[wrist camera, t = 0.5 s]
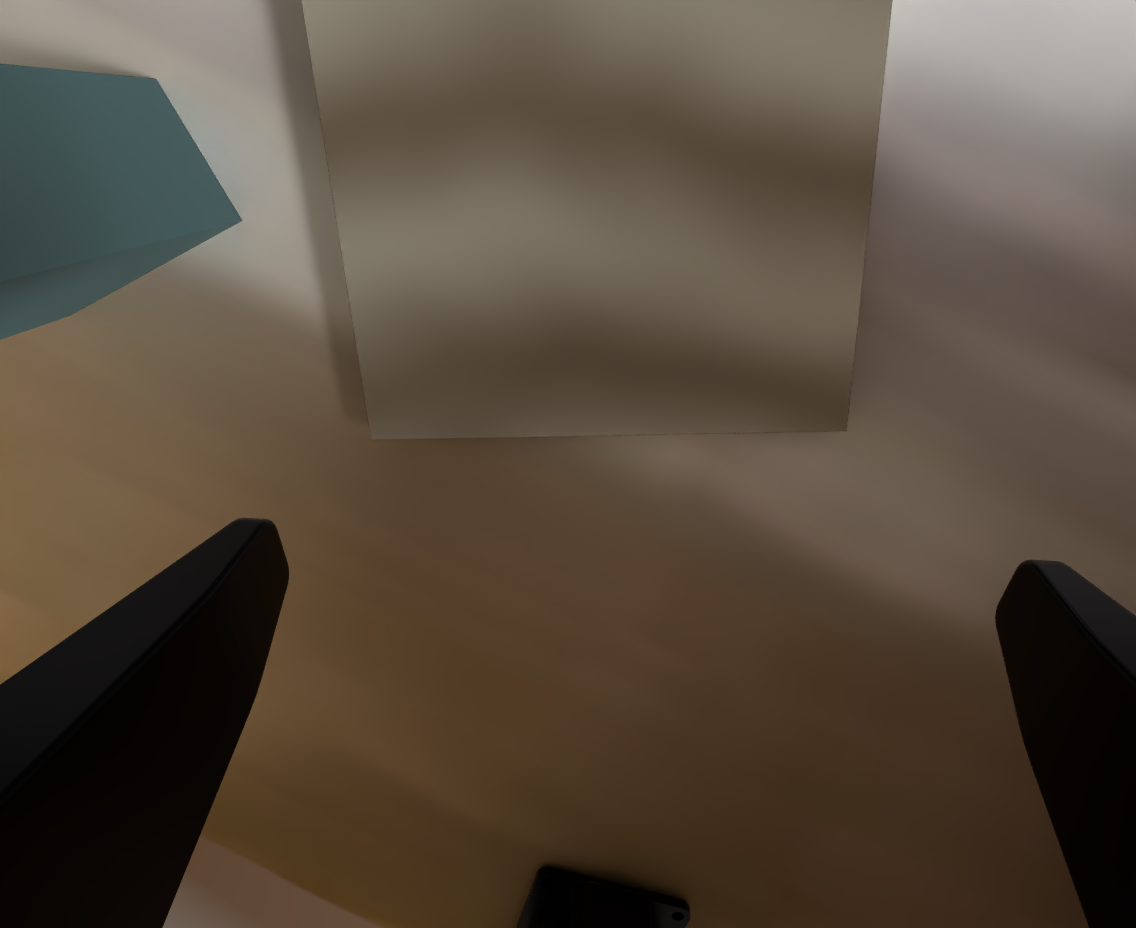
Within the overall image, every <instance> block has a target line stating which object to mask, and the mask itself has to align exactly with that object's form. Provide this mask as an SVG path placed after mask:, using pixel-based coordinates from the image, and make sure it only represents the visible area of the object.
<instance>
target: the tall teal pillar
mask: <svg viewBox="0 0 1136 928" xmlns="http://www.w3.org/2000/svg"><path fill="white" fill-rule="evenodd" d="M240 221H242V219H241V218H240V216H239V214H238V213H237V211H236V210H235V208H234V206H233V205H232V203H231V201H230V200H229V198H228V196H227V195H226V193H225V191H224V190H223V188H222V187H221V185H220V183H219V182H218V180H217V178H216V177H215V175H214V173H213V172H212V170H211V168H210V167H209V165H208V164H207V162H206V160H205V159H204V157H203V155H202V154H201V152H200V150H199V149H198V147H197V145H196V144H195V142H194V141H193V139H192V137H191V136H190V134H189V132H188V131H187V129H186V127H185V126H184V124H183V122H182V121H181V119H180V118H179V116H178V114H177V113H176V111H175V109H174V108H173V106H172V104H171V103H170V101H169V99H168V98H167V96H166V94H165V93H164V91H163V90H162V88H161V86H160V85H159V83H158V81H157V80H156V79H151V78H141V77H131V76H120V75H110V74H100V73H90V72H80V71H70V70H59V69H49V68H39V67H29V66H19V65H9V64H0V340H1V339H4V338H7V337H9V336H12V335H15V334H18V333H21V332H24V331H27V330H30V329H33V328H35V327H38V326H41V325H44V324H47V323H50V322H53V321H56V320H59V319H61V318H64V317H67V316H70V315H72V314H74V313H75V312H77V311H79V310H81V309H83V308H84V307H86V306H88V305H90V304H92V303H94V302H95V301H97V300H99V299H101V298H103V297H104V296H106V295H108V294H110V293H112V292H113V291H115V290H117V289H119V288H121V287H123V286H124V285H126V284H128V283H130V282H132V281H133V280H135V279H137V278H139V277H141V276H143V275H144V274H146V273H148V272H150V271H152V270H153V269H155V268H157V267H159V266H161V265H162V264H164V263H166V262H168V261H170V260H172V259H173V258H175V257H177V256H179V255H181V254H182V253H184V252H186V251H188V250H190V249H191V248H193V247H195V246H197V245H199V244H201V243H202V242H204V241H206V240H208V239H210V238H211V237H213V236H215V235H217V234H219V233H221V232H222V231H224V230H226V229H228V228H230V227H231V226H233V225H235V224H237V223H239V222H240Z"/></svg>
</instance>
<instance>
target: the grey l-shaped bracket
mask: <svg viewBox="0 0 1136 928" xmlns="http://www.w3.org/2000/svg"><path fill="white" fill-rule="evenodd" d="M302 6H303V13H304V19H305V25H306V32H307V38H308V44H309V51H310V57H311V63H312V69H313V76H314V82H315V88H316V95H317V101H318V107H319V114H320V120H321V126H322V133H323V139H324V145H325V152H326V158H327V164H328V171H329V177H330V183H331V190H332V196H333V202H334V208H335V215H336V221H337V227H338V234H339V240H340V246H341V253H342V259H343V265H344V272H345V278H346V284H347V291H348V297H349V303H350V310H351V316H352V322H353V329H354V335H355V341H356V347H357V354H358V360H359V366H360V373H361V379H362V385H363V392H364V398H365V404H366V411H367V417H368V423H369V430H370V436H371V440H391V439H445V438H499V437H553V436H606V435H660V434H714V433H768V432H822V431H847V421H848V412H849V402H850V393H851V384H852V374H853V365H854V355H855V346H856V337H857V327H858V318H859V308H860V299H861V290H862V280H863V271H864V261H865V252H866V243H867V233H868V224H869V214H870V205H871V196H872V186H873V177H874V167H875V158H876V149H877V139H878V130H879V120H880V111H881V102H882V92H883V83H884V74H885V64H886V55H887V45H888V36H889V27H890V17H891V8H892V0H302Z"/></svg>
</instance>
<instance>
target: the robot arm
mask: <svg viewBox="0 0 1136 928" xmlns="http://www.w3.org/2000/svg"><path fill="white" fill-rule="evenodd" d="M288 580H289V567H288V563H287V559H286V556H285V553H284V550H283V547H282V543H281V540H280V537H279V534H278V530H277V528H276V526H275V524H274V523H273V522H272V521H271V520H268V519H254V518H240V519H237V520H235V521H233V522H231V523H230V524H229V525H227V526H226V527H224V528H223V529H222V530H220V531H219V532H217V533H216V534H214V535H213V536H212V537H210V538H209V539H207V540H206V541H204V542H203V543H202V544H200V545H199V546H197V547H196V548H194V549H193V550H192V551H190V552H189V553H187V554H186V555H184V556H183V557H182V558H180V559H179V560H177V561H176V562H174V563H173V564H172V565H170V566H169V567H167V568H166V569H164V570H163V571H162V572H160V573H159V574H157V575H156V576H155V577H153V578H152V579H150V580H149V581H147V582H146V583H145V584H143V585H142V586H140V587H139V588H137V589H136V590H135V591H133V592H132V593H130V594H129V595H127V596H126V597H125V598H123V599H122V600H120V601H119V602H117V603H116V604H115V605H113V606H112V607H110V608H109V609H107V610H106V611H105V612H103V613H102V614H100V615H99V616H97V617H96V618H95V619H93V620H92V621H90V622H89V623H87V624H86V625H85V626H83V627H82V628H80V629H79V630H78V631H76V632H75V633H73V634H72V635H70V636H69V637H68V638H66V639H65V640H63V641H62V642H60V643H59V644H58V645H56V646H55V647H53V648H52V649H50V650H49V651H48V652H46V653H45V654H43V655H42V656H40V657H39V658H38V659H36V660H35V661H33V662H32V663H30V664H29V665H28V666H26V667H25V668H23V669H22V670H20V671H19V672H18V673H16V674H15V675H13V676H12V677H11V678H9V679H8V680H6V681H5V682H3V683H2V684H1V685H0V928H162V927H163V925H164V922H165V920H166V917H167V915H168V912H169V910H170V908H171V905H172V903H173V900H174V898H175V895H176V893H177V890H178V888H179V885H180V883H181V880H182V878H183V875H184V873H185V871H186V868H187V866H188V863H189V861H190V858H191V856H192V853H193V851H194V849H195V846H196V843H197V841H198V839H199V836H200V834H201V831H202V829H203V826H204V824H205V821H206V819H207V817H208V814H209V812H210V809H211V807H212V804H213V802H214V799H215V797H216V794H217V792H218V789H219V787H220V785H221V782H222V780H223V777H224V775H225V772H226V770H227V767H228V765H229V762H230V760H231V757H232V755H233V753H234V750H235V748H236V745H237V743H238V740H239V738H240V735H241V733H242V730H243V728H244V725H245V723H246V721H247V718H248V716H249V713H250V711H251V708H252V705H253V703H254V700H255V697H256V695H257V692H258V688H259V685H260V682H261V679H262V675H263V672H264V668H265V665H266V661H267V658H268V654H269V650H270V647H271V643H272V640H273V636H274V632H275V629H276V625H277V622H278V618H279V614H280V611H281V607H282V604H283V600H284V596H285V593H286V589H287V585H288ZM995 620H996V628H997V632H998V636H999V641H1000V645H1001V649H1002V654H1003V658H1004V662H1005V666H1006V671H1007V675H1008V679H1009V684H1010V688H1011V692H1012V697H1013V701H1014V705H1015V709H1016V714H1017V718H1018V722H1019V726H1020V730H1021V734H1022V738H1023V741H1024V745H1025V748H1026V751H1027V754H1028V757H1029V760H1030V763H1031V766H1032V769H1033V771H1034V774H1035V777H1036V780H1037V783H1038V785H1039V788H1040V791H1041V794H1042V797H1043V799H1044V802H1045V805H1046V808H1047V811H1048V813H1049V816H1050V819H1051V822H1052V825H1053V827H1054V830H1055V833H1056V836H1057V839H1058V841H1059V844H1060V847H1061V850H1062V853H1063V855H1064V858H1065V861H1066V864H1067V867H1068V869H1069V872H1070V875H1071V878H1072V881H1073V883H1074V886H1075V889H1076V892H1077V895H1078V897H1079V900H1080V903H1081V906H1082V909H1083V911H1084V914H1085V917H1086V920H1087V923H1088V926H1089V928H1136V616H1135V615H1133V614H1132V613H1131V612H1129V611H1128V610H1127V609H1125V608H1124V607H1123V606H1121V605H1120V604H1119V603H1117V602H1116V601H1115V600H1113V599H1112V598H1111V597H1109V596H1108V595H1106V594H1105V593H1104V592H1102V591H1101V590H1100V589H1098V588H1097V587H1096V586H1094V585H1093V584H1092V583H1090V582H1089V581H1088V580H1086V579H1085V578H1084V577H1082V576H1081V575H1080V574H1078V573H1077V572H1076V571H1074V570H1073V569H1071V568H1070V567H1069V566H1067V565H1066V564H1064V563H1061V562H1057V561H1043V560H1026V561H1024V562H1022V563H1021V564H1020V565H1019V566H1018V567H1017V569H1016V571H1015V573H1014V574H1013V576H1012V578H1011V580H1010V582H1009V584H1008V586H1007V588H1006V590H1005V592H1004V594H1003V595H1002V597H1001V599H1000V601H999V603H998V606H997V609H996V616H995ZM689 919H690V907H689V904H688V903H687V902H686V901H684V900H681V899H678V898H674V897H670V896H666V895H662V894H658V893H654V892H650V891H646V890H642V889H638V888H634V887H630V886H626V885H622V884H618V883H614V882H610V881H606V880H602V879H598V878H594V877H590V876H586V875H582V874H578V873H574V872H570V871H566V870H562V869H558V868H554V867H542V868H540V869H539V870H538V871H537V873H536V876H535V878H534V881H533V884H532V886H531V889H530V892H529V894H528V897H527V900H526V902H525V905H524V908H523V910H522V913H521V916H520V918H519V921H518V924H517V926H516V928H685V927H686V925H687V923H688V921H689Z"/></svg>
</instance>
